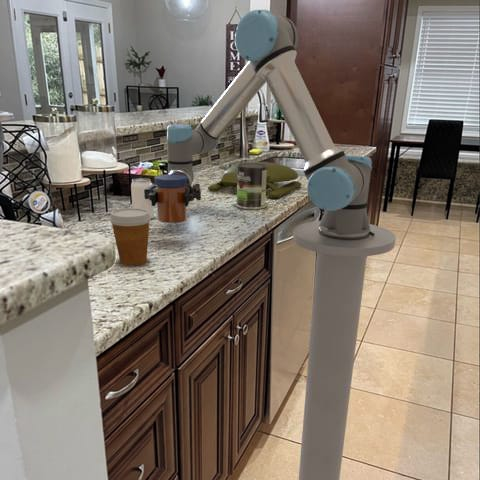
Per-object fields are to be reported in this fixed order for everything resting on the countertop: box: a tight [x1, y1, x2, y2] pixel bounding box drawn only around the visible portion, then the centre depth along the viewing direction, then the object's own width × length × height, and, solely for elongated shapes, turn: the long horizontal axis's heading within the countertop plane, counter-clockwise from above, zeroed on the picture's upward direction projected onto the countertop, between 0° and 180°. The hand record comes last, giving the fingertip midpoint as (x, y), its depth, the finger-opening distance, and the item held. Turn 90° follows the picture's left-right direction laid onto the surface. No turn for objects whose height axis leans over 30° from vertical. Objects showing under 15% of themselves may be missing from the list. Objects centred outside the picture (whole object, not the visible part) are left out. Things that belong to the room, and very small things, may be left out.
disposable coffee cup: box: [108, 207, 152, 267], centre depth 118 cm, size 10×10×12 cm
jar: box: [156, 186, 188, 224], centre depth 131 cm, size 8×8×11 cm
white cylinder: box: [130, 177, 155, 220], centre depth 157 cm, size 6×6×12 cm
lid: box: [154, 173, 187, 188], centre depth 129 cm, size 8×8×2 cm
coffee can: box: [236, 162, 267, 210], centre depth 174 cm, size 10×10×14 cm
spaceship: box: [207, 161, 303, 199], centre depth 205 cm, size 35×31×10 cm
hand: (169, 200), depth 126 cm, fingers closed on jar, 8 cm apart
